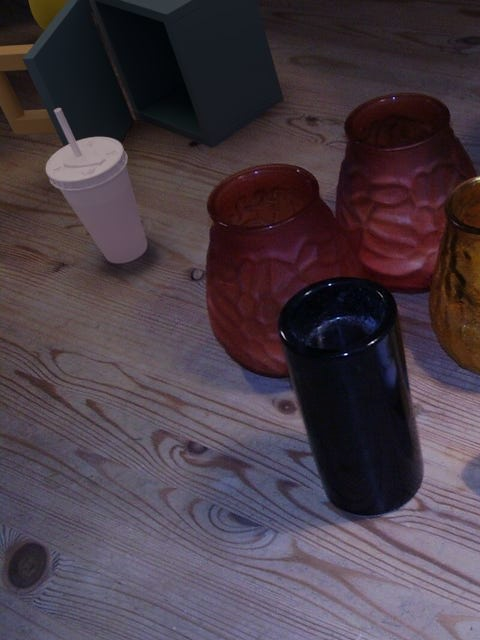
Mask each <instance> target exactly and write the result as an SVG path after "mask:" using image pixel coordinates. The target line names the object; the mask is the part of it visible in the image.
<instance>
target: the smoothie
mask: <svg viewBox="0 0 480 640" xmlns="http://www.w3.org/2000/svg"><path fill="white" fill-rule="evenodd" d="M54 112H55V114H56V116H57V119H58V121H59V123H60V125H61V127H62V129H63V131H64V134H65V136H66V138H67V140H68V142H69V144H68V145H66V146H63V147H61V148H60V149H58V150H56V151H55V152H54V153H53V154H52V155H51V156H50V157H49V159H48V160H47V161H46V164H45V173H46V175H47V176H48V177H47V178H48V179H49V183H50V184H51V185H52V186H53V187H54V188H56V189H59V190H60V192H61V194H62V195H63V197H64V199H65V200H66V202H67V203H68V205H69V206H70V207H71V209H72V210H73V211H74V213H75V215H76V216H77V218H78V219H79V221H80V222H81V223H82V225H83V227H84V228H85V229H86V231H87V232H88V234H89V235H90V237H91V238H92V240H93V241H94V243H95V245H96V246H97V247H98V249H99V250H100V252H101V253H102V254H103V257H104V258H105V259H106V261H108V262H110V263H112V264H125V263H129V262H132V261H135V260H136V259H139V258H140V257H141V256H143V254H145V252H146V251H147V249H148V241H147V236H146V234H145V230H144V226H143V223H142V219H141V215H140V211H139V208H138V204H137V201H136V196H135V193H134V190H133V186H132V182H131V178H130V174H129V171H128V168H127V164H128V159H129V156H128V154H127V151H126V150H125V149H124V146H123V144H122V142H121V143H120V142H119V141H117V140H115V139H112V138H108V137H91V138H86V139H81V140H78V141H76V140H75V138H74V136H73V134H72V132H71V129H70V127H69V125H68V123H67V121H66V118H65V116H64V114H63V112H62V110H61V108H57V109H55V110H54Z"/></svg>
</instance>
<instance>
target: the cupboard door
mask: <svg viewBox="0 0 480 640" xmlns="http://www.w3.org/2000/svg"><path fill="white" fill-rule="evenodd" d="M14 71H27V72H28V74H29V76H30V78H31V81H32V82H33V84H34V85H33V86H34V87H35V89H36V91H37V94H38V95H39V97H40V99H41V102H42V104H43V106H44V109H26V110H25V109H23V107H22V105H21V103H20V101H19V99H18V97H17V95H16V93H15V91H14V89H13V86H12V85H11V82H10V81H9V78H8V76H7V75H6V73H5V72H14ZM0 108H1V110H2V112H3V114H4V116H5V118H6V120H7V122H8V124H9V125H10V127H11V129H12V131H13V133H14V134H15V135H17V136H18V135H19V136H20V135H21V136H22V135H40V134H41V135H42V134H57V136H58V138H59V140H60V142H61V145H62V146H63V147H64V146H66V145H68V144H69V142H68V140H67V138H66V136H65V134H64V131H63V129H62V127H61V125H60V123H59V121H58V119H57V116H56V114H55V112H54V110H55V109H57V108H61V110H62V112H63V114H64V116H65V118H66V121H67V123H68V125H69V127H70V129H71V132H72V134H73V136H74V138H75V140H76V141H78V140H81V139H86V138H91V137H108V138H112V139H115V140H117V141H119V142H120V143H121V144H122V142H123V140H124V138H125V137H126V135H127V133H128V131H129V130H130V129H131V126H132V125H133V123H134V121H135V119H134V117H133V115H132V111H131V109H130V107H129V104H128V102H127V99H126V97H125V95H124V92H123V89H122V87H121V84H120V82H119V80H118V76H117V75H116V72H115V70H114V67H113V64H112V62H111V60H110V58H109V55H108V52H107V49H106V47H105V45H104V42H103V40H102V37H101V35H100V32H99V30H98V27H97V25H96V22H95V20H94V17H93V15H92V13H91V10H90V7H89V5H88V3H87V0H68V1H67V3H66V4H65V5H64V7H63V8H62V9H61V10H60V12H59V13H58V14H57V15H56V17H55V18H54V19H53V21H52V22H51V23H50V24H49V26H48V27H47V28H46V30H43V32H42V33H41V34H40V36H39V37H38V38H37V39H36V41H35V42H34V43H31V44H16V45H15V44H14V45H0Z"/></svg>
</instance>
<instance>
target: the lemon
mask: <svg viewBox="0 0 480 640" xmlns="http://www.w3.org/2000/svg"><path fill="white" fill-rule="evenodd" d="M67 1H68V0H28V3H29V8H30V12H31V14H32V16H33V18H34V21H35V22H36V23H37V24H38V26H39V27H40V28H41V29H42V30H43V31H45V30H46V28H47V27H48V26H49V24H50V23H51V22H52V21H53V19H54V18H55V17H56V15H57V14H58V13H59V12H60V10H61V9H62V8H63V7H64V5H65V4H66V3H67Z"/></svg>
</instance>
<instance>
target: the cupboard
mask: <svg viewBox="0 0 480 640" xmlns="http://www.w3.org/2000/svg"><path fill="white" fill-rule="evenodd" d="M88 1H89V4H90V6H91V9H92V11H93V14H94V17H95V19H96V21H97V24H98V26H99V29H100V31H101V34H102V36H103V39H104V41H105V44H106V47H107V49H108V51H109V55H110V56H111V59H112V61H113V64H114V66H115V69H116V71H117V74H118V77H119V79H120V81H121V84H122V86H123V87H122V88H123V89H124V92H125V94H126V97H127V99H128V101H129V104H130V106H131V110H132V112H133V114H134V116H135V119H137V120H140V121H144V122H146V123H148V124H151V125H153V126H156V127H157V128H158V127H159V128H161V129H164V130H166V131H168V132H171V133H173V134H176V135H179V136H181V137H184V138H186V139H189V140H191V141H194V142H197V143H199V144H202V145H203V146H206V147H208V148H211V149H215V148H216V147H217V146H218V145H220V144H222V143H223V142H225V141H226V140H227V139H230V137H232V136H233V135H234V134H236V133H237V132H239V131H240V130H242V129H243V128H245V127H246V126H248V125H249V124H250V123H252V122H254V121H255V120H256V119H258V118H259V117H261V116H262V115H263V114H265V113H266V112H268V111H269V110H271V109H272V108H274V107H275V106H276V105H278V104H279V103H281V102H283V101H284V98H285V97H284V94H283V91H282V88H281V84H280V81H279V77H278V74H277V73H278V72H277V70H276V66H275V62H274V58H273V55H272V51H271V48H270V45H269V40H268V37H267V34H266V29H265V26H264V22H263V19H262V15H261V11H260V7H259V4H258V1H257V0H88Z"/></svg>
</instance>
